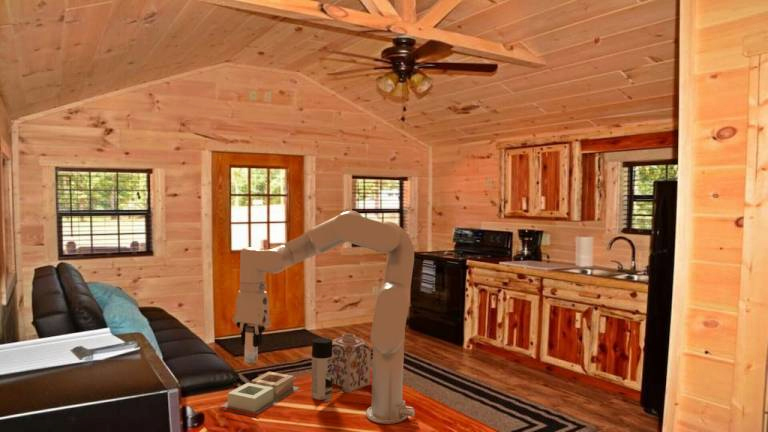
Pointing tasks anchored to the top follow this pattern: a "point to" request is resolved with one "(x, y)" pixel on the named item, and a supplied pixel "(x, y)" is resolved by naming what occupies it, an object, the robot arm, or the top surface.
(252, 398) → the sage dock
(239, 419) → the top surface
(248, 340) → the steel pin
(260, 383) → the maple mount
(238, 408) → the base board
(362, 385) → the decorative jar
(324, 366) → the spray can
